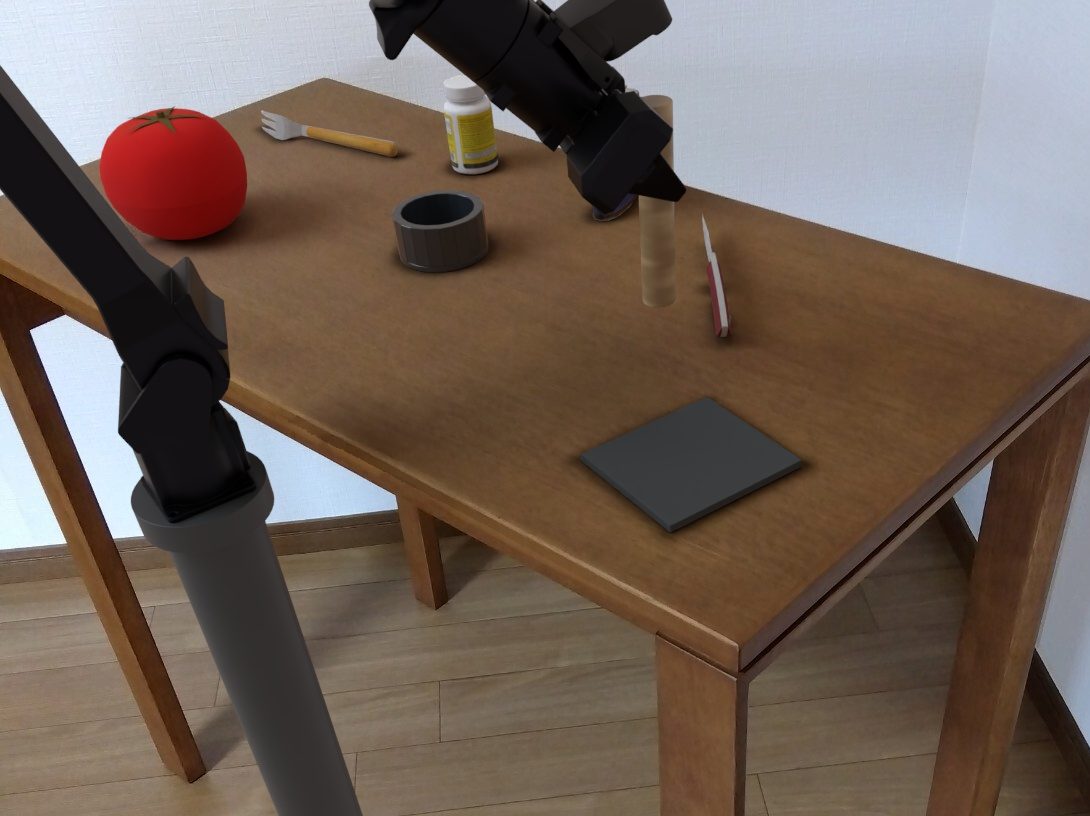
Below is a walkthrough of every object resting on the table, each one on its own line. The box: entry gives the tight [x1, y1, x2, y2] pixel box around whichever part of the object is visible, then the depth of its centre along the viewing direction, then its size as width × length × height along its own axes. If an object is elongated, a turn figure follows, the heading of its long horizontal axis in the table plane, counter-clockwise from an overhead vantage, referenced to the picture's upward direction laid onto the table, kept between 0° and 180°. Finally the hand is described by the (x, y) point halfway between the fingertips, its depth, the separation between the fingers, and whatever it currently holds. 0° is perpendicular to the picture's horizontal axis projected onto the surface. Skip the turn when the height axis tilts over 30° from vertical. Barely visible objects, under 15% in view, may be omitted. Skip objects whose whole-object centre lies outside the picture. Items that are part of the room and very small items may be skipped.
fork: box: [260, 109, 399, 158], centre depth 123 cm, size 2×2×20 cm
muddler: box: [638, 94, 676, 309], centre depth 78 cm, size 2×2×14 cm
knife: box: [701, 213, 732, 338], centre depth 94 cm, size 20×1×3 cm, turn 1°
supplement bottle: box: [443, 73, 499, 175], centre depth 114 cm, size 5×5×8 cm
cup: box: [391, 189, 490, 273], centre depth 101 cm, size 8×8×4 cm
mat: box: [580, 396, 803, 534], centre depth 77 cm, size 11×10×1 cm
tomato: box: [98, 105, 248, 241], centre depth 106 cm, size 12×13×11 cm
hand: (675, 188), depth 77 cm, fingers closed on muddler, 2 cm apart
